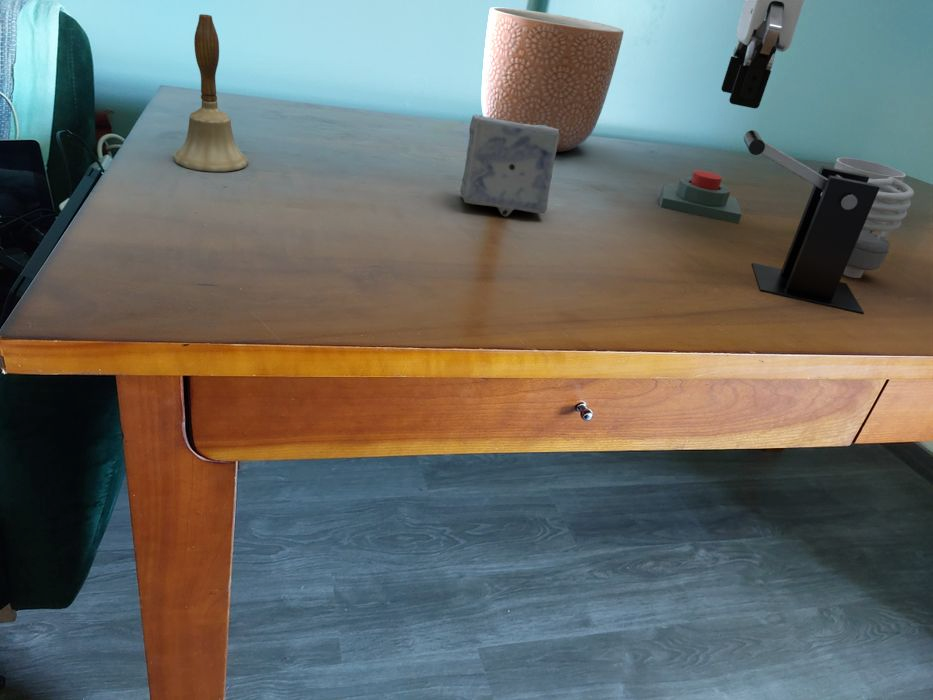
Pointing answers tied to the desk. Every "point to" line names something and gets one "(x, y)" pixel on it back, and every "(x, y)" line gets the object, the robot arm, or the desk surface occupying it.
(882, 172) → the cup
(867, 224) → the light bulb
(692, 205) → the button box
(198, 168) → the hand bell
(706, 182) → the button
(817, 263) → the bracket
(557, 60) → the planter
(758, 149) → the lever
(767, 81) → the robot arm
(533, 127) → the incense holder
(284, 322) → the desk surface
